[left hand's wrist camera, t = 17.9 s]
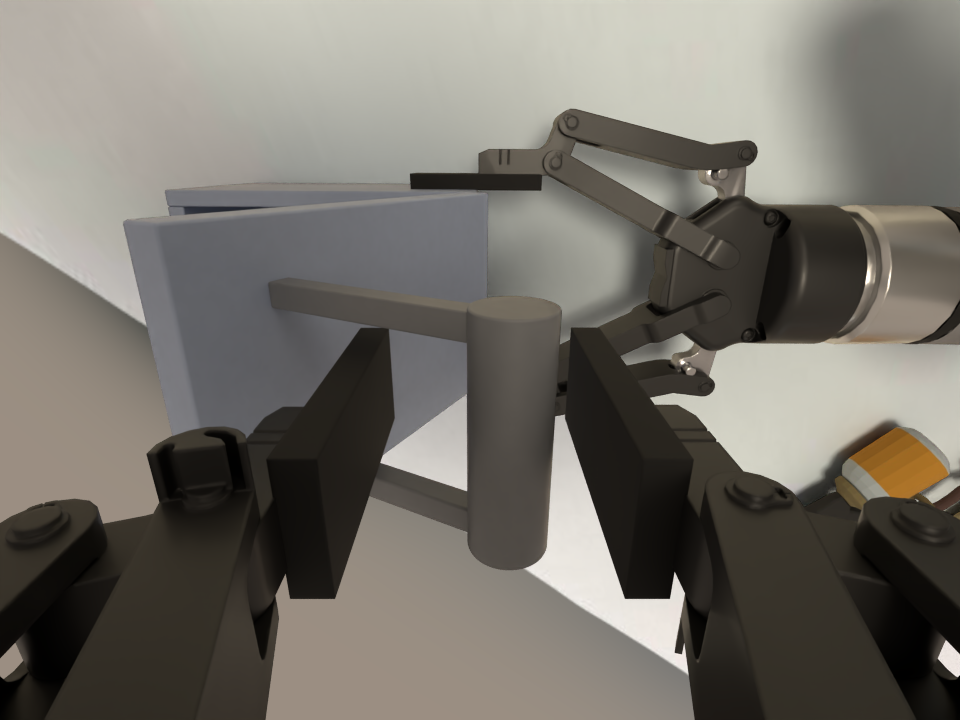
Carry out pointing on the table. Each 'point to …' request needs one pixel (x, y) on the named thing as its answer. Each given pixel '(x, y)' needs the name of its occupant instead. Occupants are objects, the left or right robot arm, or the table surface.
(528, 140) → the table surface
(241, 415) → the lid
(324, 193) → the chest
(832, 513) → the spray gun
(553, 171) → the right robot arm
